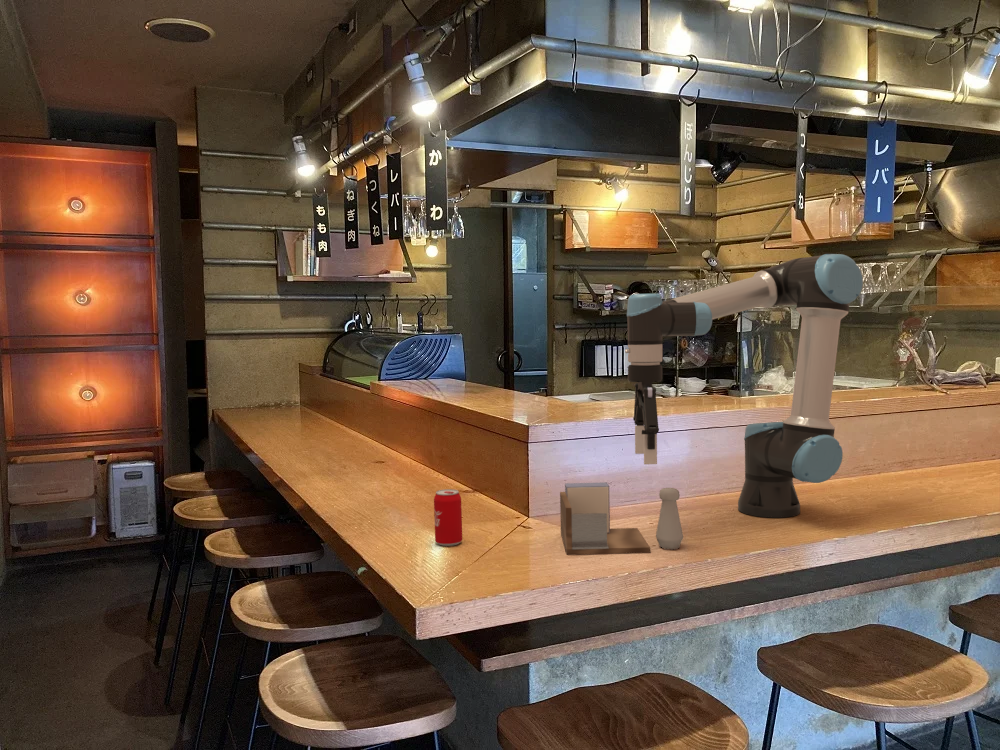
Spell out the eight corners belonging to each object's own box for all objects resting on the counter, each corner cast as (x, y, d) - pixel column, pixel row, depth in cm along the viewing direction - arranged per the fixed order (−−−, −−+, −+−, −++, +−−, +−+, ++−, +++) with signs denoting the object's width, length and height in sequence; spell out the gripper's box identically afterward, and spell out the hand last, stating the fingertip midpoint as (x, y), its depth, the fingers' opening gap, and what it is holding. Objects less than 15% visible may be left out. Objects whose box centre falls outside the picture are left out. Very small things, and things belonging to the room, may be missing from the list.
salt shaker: (663, 551, 171) (663, 492, 170) (651, 544, 176) (651, 487, 175) (688, 549, 172) (687, 490, 171) (675, 542, 178) (675, 485, 177)
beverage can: (448, 538, 186) (446, 487, 185) (468, 542, 182) (466, 490, 181) (429, 544, 181) (428, 492, 180) (449, 548, 177) (447, 495, 176)
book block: (607, 528, 186) (606, 482, 185) (610, 533, 182) (609, 486, 181) (565, 529, 186) (565, 483, 185) (567, 534, 182) (566, 487, 181)
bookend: (606, 544, 173) (606, 512, 173) (608, 548, 170) (608, 516, 169) (570, 545, 173) (570, 513, 173) (572, 549, 170) (571, 517, 169)
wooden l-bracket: (637, 533, 186) (636, 490, 185) (650, 552, 170) (649, 506, 170) (560, 534, 186) (560, 491, 185) (566, 554, 170) (565, 507, 170)
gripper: (621, 361, 188) (622, 449, 190) (635, 367, 163) (636, 469, 165) (652, 360, 188) (653, 449, 189) (672, 366, 163) (673, 468, 164)
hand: (645, 458), depth 177 cm, fingers open, 13 cm apart
